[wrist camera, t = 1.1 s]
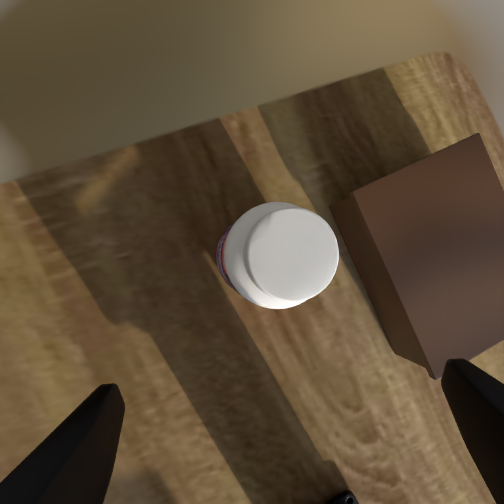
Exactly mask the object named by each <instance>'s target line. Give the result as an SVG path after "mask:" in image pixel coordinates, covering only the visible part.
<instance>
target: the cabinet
mask: <svg viewBox="0 0 504 504" xmlns="http://www.w3.org/2000/svg"><path fill="white" fill-rule="evenodd" d="M348 194H349V197H347V198H345V199H343V200H341V201H339V202H337V203H335V204H332V205H330V206H329V208H330V210H331V213H332V215H333V217H334V219H335V221H336V224H337V226H338V228H339V230H340V233H341V235H342V237H343V239H344V242H345V244H346V246H347V248H348V250H349V253H350V255H351V257H352V259H353V262H354V264H355V266H356V268H357V270H358V273H359V275H360V277H361V279H362V282H363V284H364V286H365V288H366V291H367V293H368V295H369V297H370V299H371V302H372V304H373V306H374V308H375V311H376V313H377V315H378V317H379V319H380V322H381V324H382V326H383V328H384V331H385V333H386V335H387V337H388V340H389V342H390V344H391V346H392V348H393V351H394V353H395V354H397V355H399V356H401V357H403V358H405V359H408V360H410V361H412V362H414V363H416V364H418V365H421V366H423V367H425V368H426V370H427V372H428V374H429V376H430V377H431V378H433V379H435V380H437V379H439V378H441V377H442V375H443V371H444V367H445V363H446V361H447V360H448V359H457V358H463V359H466V360H467V361H469V360H471V359H473V358H474V357H476V356H478V355H479V354H481V353H483V352H484V351H486V350H488V349H489V348H491V347H493V346H494V345H496V344H498V343H499V342H501V341H503V340H504V191H503V188H502V186H501V184H500V181H499V179H498V177H497V174H496V172H495V170H494V167H493V165H492V162H491V160H490V158H489V155H488V153H487V151H486V148H485V146H484V144H483V141H482V139H481V136H480V134H479V133H476V134H474V135H472V136H470V137H468V138H466V139H463V140H461V141H459V142H457V143H455V144H453V145H451V146H448V147H446V148H444V149H442V150H440V151H438V152H435V153H433V154H431V155H429V156H427V157H425V158H423V159H420V160H418V161H416V162H414V163H412V164H410V165H407V166H405V167H403V168H401V169H399V170H397V171H395V172H392V173H390V174H388V175H386V176H384V177H382V178H379V179H377V180H375V181H373V182H371V183H369V184H367V185H364V186H362V187H360V188H358V189H356V190H354V191H351V192H349V193H348Z"/></svg>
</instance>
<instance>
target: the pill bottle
mask: <svg viewBox="0 0 504 504" xmlns="http://www.w3.org/2000/svg"><path fill="white" fill-rule="evenodd" d="M216 259H217V265H218V269H219V272H220V274H221V275H222V277H223V279H224V280H225V281H226V283H227V284H228V285H229V286H230V287H231V288H233V289H234V290H236V291H237V292H238V293H239V294H241V295H242V296H243V297H244V298H246V299H247V300H248V301H250V302H252V303H254V304H257V305H259V306H262V307H266V308H271V309H284V308H289V307H293V306H296V305H298V304H301V303H302V302H304V301H306V300H307V299H309V298H312V297H313V296H315V295H317V294H319V293H320V292H321V291H322V290H324V289H325V288H326V287H327V285H328V284H329V283H330V281H331V280H332V278H333V276H334V274H335V272H336V269H337V265H338V259H339V251H338V244H337V239H336V237H335V234H334V232H333V230H332V229H331V227H330V226H329V225H328V223H327V222H326V221H325V220H324V219H323V218H322V217H320V216H319V215H318V214H316V213H314V212H312V211H310V210H308V209H304V208H300V207H298V206H296V205H293V204H290V203H285V202H269V203H265V204H261V205H258V206H256V207H254V208H252V209H250V210H249V211H247V212H245V213H244V214H243V215H242V216H241V217H240V218H238V219H237V220H236V221H235V222H234V223H233V224H232V225H231V226H230V227H229V228H228V229H227V230H226V231H225V232H224V234H223V235H222V237H221V239H220V241H219V243H218V247H217V253H216Z"/></svg>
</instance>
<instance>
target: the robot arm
mask: <svg viewBox="0 0 504 504" xmlns="http://www.w3.org/2000/svg"><path fill="white" fill-rule="evenodd" d="M441 386H442V389H443V392H444V394H445V397H446V399H447V401H448V404H449V406H450V409H451V411H452V414H453V416H454V418H455V421H456V423H457V426H458V428H459V431H460V433H461V435H462V438H463V440H464V442H465V444H466V447H467V449H468V451H469V453H470V455H471V457H472V458H473V460H474V462H475V464H476V466H477V468H478V470H479V472H480V473H481V475H482V477H483V479H484V481H485V483H486V485H487V487H488V488H489V490H490V492H491V494H492V496H493V498H494V500H495V502H496V504H504V384H503V383H501V382H500V381H498V380H497V379H495V378H493V377H492V376H490V375H489V374H487V373H486V372H484V371H483V370H481V369H480V368H478V367H477V366H475V365H474V364H472V363H470V362H469V361H467V360H466V359H463V358H457V359H448V360H447V361H446V363H445V367H444V371H443V375H442V379H441ZM124 412H125V404H124V401H123V398H122V395H121V393H120V390H119V388H118V386H117V385H116V384H114V383H113V384H102V385H100V386H99V387H98V388H97V389H96V390H94V391H93V392H92V393H91V394H90V395H89V396H88V397H87V398H86V399H85V400H84V401H83V402H82V403H81V404H80V405H79V406H78V407H77V408H76V409H75V410H74V411H73V412H72V413H71V414H70V415H69V416H68V417H67V418H66V419H65V420H64V421H63V422H62V423H61V424H60V425H59V426H58V427H57V428H56V429H55V430H54V431H53V432H52V433H51V434H50V435H49V436H48V437H47V438H46V439H45V440H44V441H42V442H41V443H40V444H39V445H38V446H37V447H36V448H35V449H34V450H33V451H32V452H31V453H30V454H29V455H28V456H27V457H26V458H25V459H24V460H23V461H22V462H21V463H20V464H19V465H18V466H17V467H16V468H15V469H14V470H13V471H12V472H11V473H10V474H9V475H8V476H7V477H6V478H5V479H4V480H3V481H2V482H1V483H0V504H103V502H104V499H105V495H106V492H107V489H108V486H109V482H110V479H111V475H112V472H113V468H114V463H115V458H116V453H117V448H118V443H119V438H120V433H121V428H122V422H123V417H124ZM348 498H350V500H349V501H346V500H347V499H348ZM325 504H358V501H357V499H356V497H355V496H354V494H353V493H352V492H351V491H350V490H346V491H344V492H342V493H341V494H339V495H337V496H336V497H334V498H333V499H331V500H329V501H328V502H326V503H325Z"/></svg>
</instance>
